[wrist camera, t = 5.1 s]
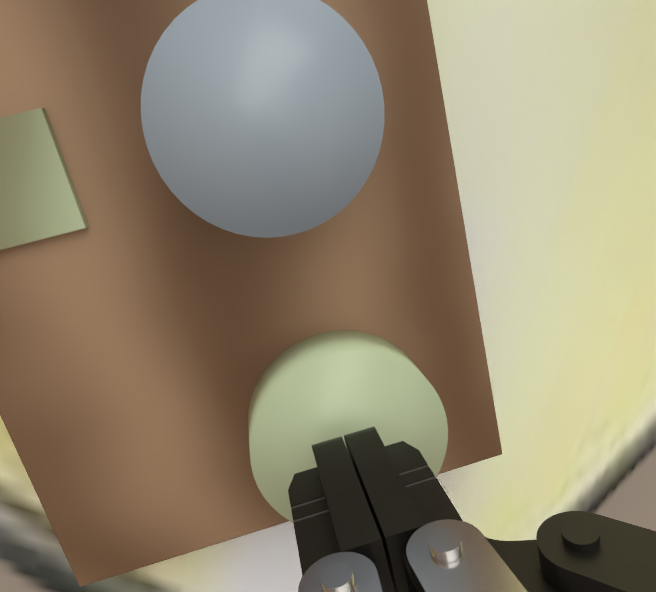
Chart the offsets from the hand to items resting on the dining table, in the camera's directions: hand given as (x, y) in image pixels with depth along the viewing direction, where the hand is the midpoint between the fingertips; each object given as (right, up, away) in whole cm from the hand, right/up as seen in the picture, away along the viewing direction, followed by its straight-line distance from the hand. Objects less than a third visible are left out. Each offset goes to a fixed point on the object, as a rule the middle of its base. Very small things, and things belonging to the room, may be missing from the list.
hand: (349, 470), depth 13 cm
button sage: (0, +1, +3) cm, 3 cm away
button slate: (-2, +8, 0) cm, 8 cm away
